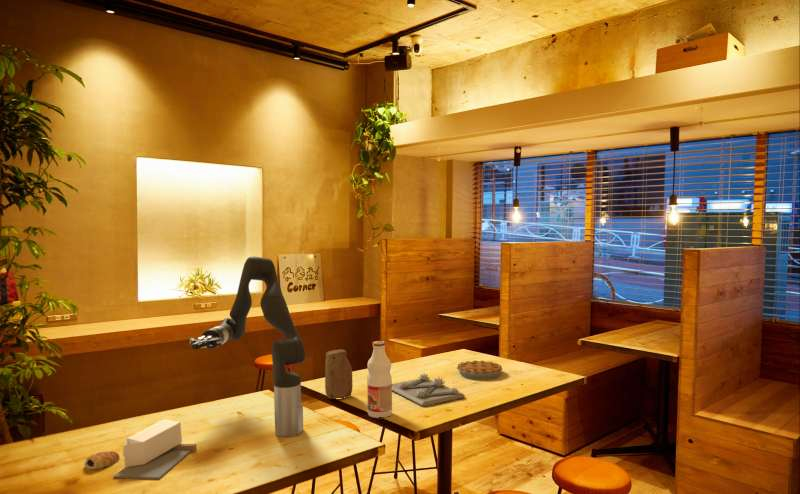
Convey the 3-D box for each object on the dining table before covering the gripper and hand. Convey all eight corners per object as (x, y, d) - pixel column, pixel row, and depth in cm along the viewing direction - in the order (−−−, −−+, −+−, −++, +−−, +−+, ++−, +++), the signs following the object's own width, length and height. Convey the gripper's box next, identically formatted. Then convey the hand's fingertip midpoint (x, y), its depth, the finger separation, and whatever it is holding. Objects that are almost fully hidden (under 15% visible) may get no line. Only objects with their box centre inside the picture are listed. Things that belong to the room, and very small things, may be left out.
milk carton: (180, 421, 180) (131, 448, 163) (182, 442, 181) (133, 470, 164) (164, 418, 183) (114, 443, 166) (166, 438, 184) (116, 466, 166)
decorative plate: (386, 390, 244) (385, 374, 243) (426, 382, 255) (426, 367, 254) (423, 408, 218) (422, 391, 217) (466, 399, 229) (466, 382, 228)
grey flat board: (196, 449, 180) (196, 444, 180) (162, 479, 159) (162, 473, 159) (149, 448, 181) (149, 443, 181) (110, 477, 160) (110, 471, 160)
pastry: (110, 456, 176) (110, 444, 176) (124, 460, 173) (124, 448, 173) (82, 468, 168) (82, 455, 167) (96, 472, 164) (96, 460, 164)
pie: (506, 380, 255) (506, 369, 254) (458, 381, 255) (458, 370, 255) (498, 368, 276) (498, 358, 276) (455, 368, 277) (454, 358, 277)
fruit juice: (391, 418, 206) (390, 344, 205) (366, 418, 206) (365, 344, 205) (392, 410, 215) (391, 339, 214) (368, 410, 215) (367, 339, 214)
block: (330, 401, 227) (329, 353, 226) (324, 396, 233) (323, 350, 233) (354, 397, 232) (353, 350, 231) (348, 393, 238) (347, 347, 237)
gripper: (198, 327, 214) (176, 336, 197) (231, 327, 213) (212, 336, 196) (199, 346, 214) (177, 357, 197) (232, 346, 213) (212, 357, 196)
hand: (194, 346), depth 196 cm, fingers closed
